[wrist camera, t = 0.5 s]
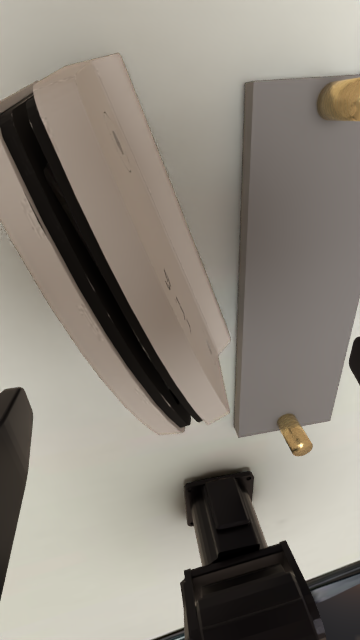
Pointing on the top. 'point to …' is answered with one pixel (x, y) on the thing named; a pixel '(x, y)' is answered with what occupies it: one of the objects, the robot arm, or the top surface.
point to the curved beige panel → (112, 242)
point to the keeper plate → (297, 252)
